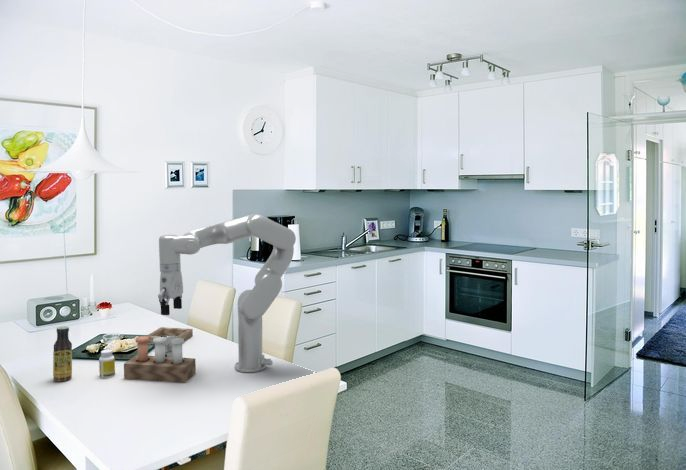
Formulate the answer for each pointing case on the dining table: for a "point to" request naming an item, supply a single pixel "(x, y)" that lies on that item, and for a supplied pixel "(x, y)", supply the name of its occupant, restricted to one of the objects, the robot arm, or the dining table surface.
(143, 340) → the terracotta plug
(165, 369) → the block
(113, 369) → the supplement bottle
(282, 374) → the dining table surface
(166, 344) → the electrical switch
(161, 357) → the grey plug
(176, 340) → the grey plug
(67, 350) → the sauce bottle
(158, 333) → the square wooden frame
